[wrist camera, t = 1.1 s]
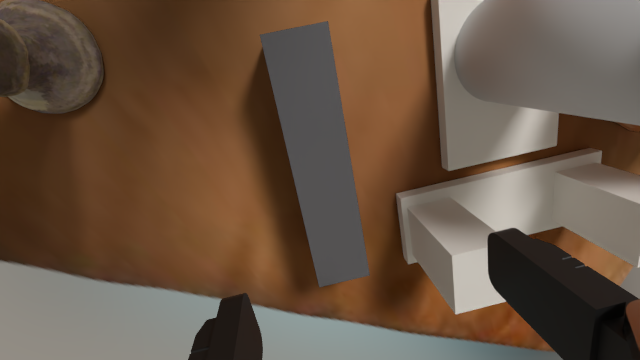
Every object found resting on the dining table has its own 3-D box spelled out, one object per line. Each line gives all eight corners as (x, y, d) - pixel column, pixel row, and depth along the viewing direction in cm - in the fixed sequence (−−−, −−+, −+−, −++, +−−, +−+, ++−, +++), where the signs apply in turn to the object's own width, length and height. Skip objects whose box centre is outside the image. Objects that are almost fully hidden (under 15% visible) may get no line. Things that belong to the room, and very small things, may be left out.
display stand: (372, 5, 24) (672, -200, 6) (610, -44, 24) (1527, -356, 6) (403, 257, 31) (571, 510, 13) (583, 213, 32) (966, 395, 14)
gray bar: (264, 42, 24) (259, 34, 18) (316, 32, 24) (327, 21, 18) (311, 246, 30) (319, 287, 24) (352, 236, 30) (369, 275, 25)
